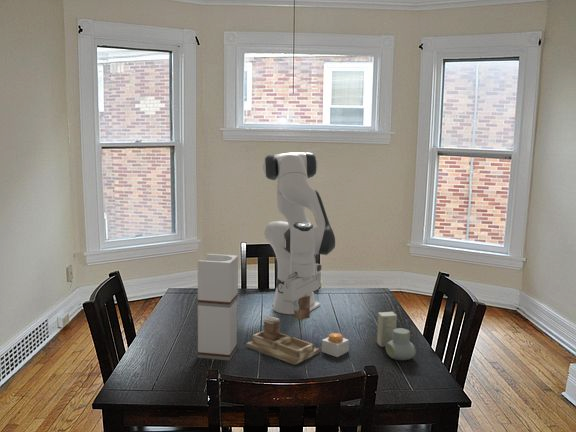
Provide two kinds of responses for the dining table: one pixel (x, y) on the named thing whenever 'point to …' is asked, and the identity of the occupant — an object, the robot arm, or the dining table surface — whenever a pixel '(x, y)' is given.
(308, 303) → the block
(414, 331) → the dining table surface
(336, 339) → the button
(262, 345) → the wooden compartment tray
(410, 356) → the air freshener
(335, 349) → the button housing
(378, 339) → the skincare box
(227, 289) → the tall open-top box
